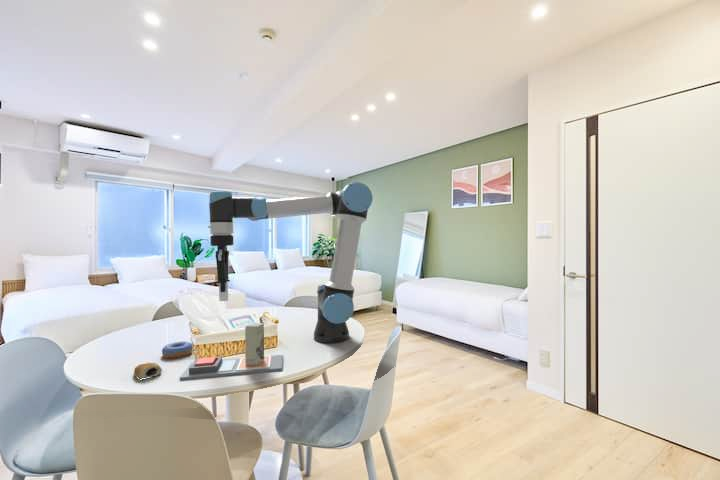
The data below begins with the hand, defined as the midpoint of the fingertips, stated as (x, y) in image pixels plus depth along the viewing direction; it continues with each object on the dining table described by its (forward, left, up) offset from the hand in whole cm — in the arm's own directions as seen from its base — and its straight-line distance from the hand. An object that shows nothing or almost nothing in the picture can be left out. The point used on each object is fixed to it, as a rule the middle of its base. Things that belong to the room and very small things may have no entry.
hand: (223, 300), depth 113 cm
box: (-11, +10, -20) cm, 25 cm away
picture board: (-5, +10, -21) cm, 24 cm away
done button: (+4, +10, -19) cm, 22 cm away
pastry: (+21, +10, -21) cm, 31 cm away
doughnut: (+18, -8, -21) cm, 28 cm away
